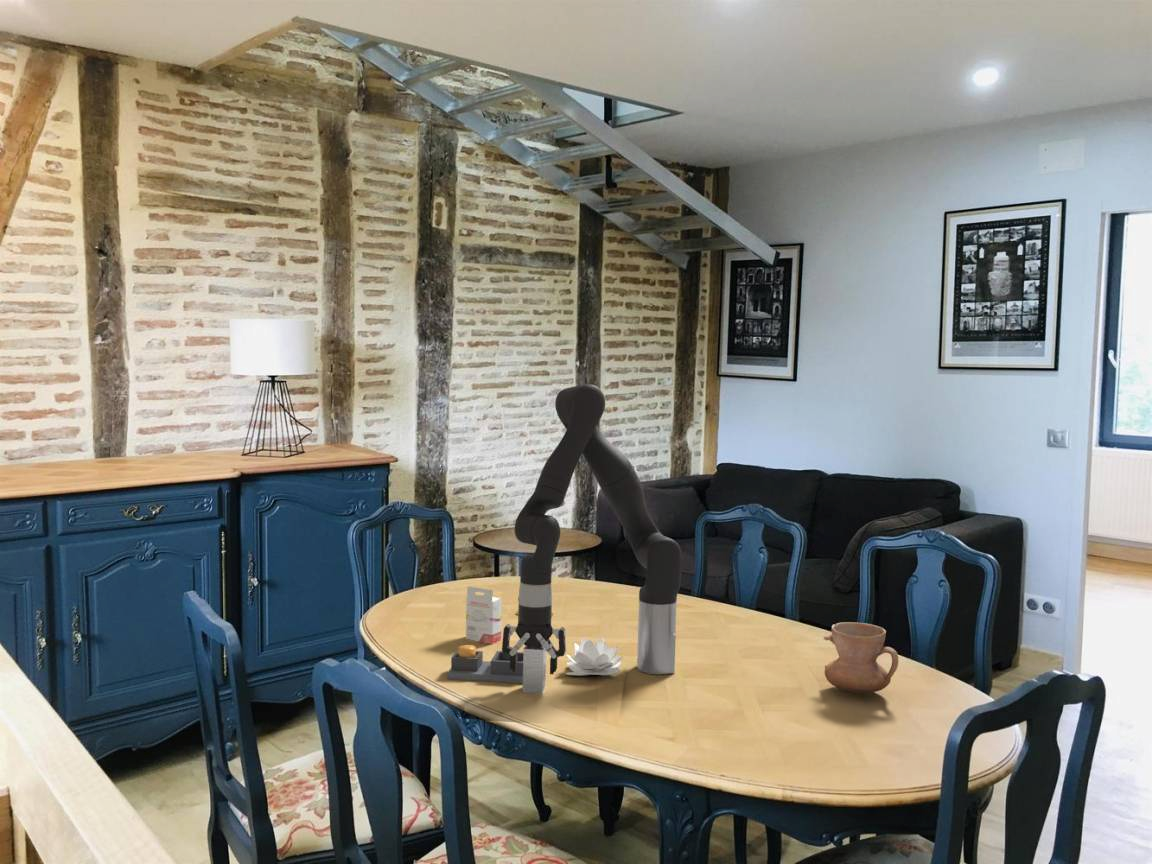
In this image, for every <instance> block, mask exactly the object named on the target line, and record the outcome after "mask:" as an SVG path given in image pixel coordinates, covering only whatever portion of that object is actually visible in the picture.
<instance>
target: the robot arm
mask: <svg viewBox="0 0 1152 864" xmlns="http://www.w3.org/2000/svg"><path fill="white" fill-rule="evenodd" d="M554 405H555V406H554V407H555V411H556V414H557V417H558V418H559V420H560V422H561V423H562V425H563V426H564V428H565V432H564V435H563V436H562V438H561V440H560V441H559V443H558V444H557V445H556V447H555V449H554V450H553V451H552V453H551V454H550V456H549V457H548V458H547V460H546V462H545V463H544V465H543V468H542V470H541V472H540V474H539V478H538V480H537V483H536V486H535V489H534V492H533V493H532V495H531V496H530V497H529V498H528V499H527V501H526V503H525V505H524V506H523V507H522V509H521V510H520V512H519V513H518V515H517V517H516V520H515V523H514V529H513V530H514V535H515V538H516V539H517V540H518V541H519V542H521V543H523V544H527V545H532V546H536V548H535V550H534V554H532V553H531V554H528V555H527V554H526V555H524V556H523V557H522V558H521V561H520V573H519V574H520V576H519V577H520V579H519V589H518V597H517V602H518V609H517V610H518V611H517V612H518V615H517V625H516V626H513V625H511V624H506V625H505V626H504V628H503V631H502V646H501V651H502V652H503V653H508V654H509V655H510V669H513V670H512V671H513V672H516V671H517V654H516V652H519V650H520V649H521V648H522V647H523V645H524V646H525V645H526V647H531V646H534V647H541V646H543V647H544V648H545V650H546V653H548V655H549V656H550V658H549V659H550V661H549V675H554V674H555V672H556V671H557V669H558V658H560V657H563V656H564V655H565V654H566V652H567V651H566V649H567V647H566V646H567V645H566V629H565V628H564V627H560V628H554V627H553V626H552V618H551V614H552V613H553V611H552V608H553V605H552V603H553V588H552V570H553V569H552V565H553V561H554V559H555V555H556V552H557V549H558V545H559V542H560V538H561V527H560V524H559V523H560V522H558V520H557V518H556V517H554V516H552V515H548V514H546V513H548V511H550V510H553V509H554V510H555V509H559V508H561V507H562V505H563V503H564V502H565V498H566V496H567V494H568V493H567V492H568V489H569V486H570V483H571V481H572V478H573V476H574V473H575V470H576V468H577V466H578V463H579V462H580V459H581V456H583V458H584V459H585V461H586V463H587V465H588V467H589V469H590V470H591V471H592V474H593V476H594V478H595V480H596V481H597V484H598V486H599V489H601V491H602V493H603V495H604V497H605V498H606V501H607V502H608V503H609V506H610V508H611V509H612V511H613V512H614V514H615V515H616V517H617V519H618V520H619V522H620V523H621V525H622V528H623V529H624V531H625V533H626V535H627V538H628V541H629V543H630V545H631V548H632V551H633V552H634V553H633V554H634V555H635V558H636V560H637V562H638V564H639V565H641V567H643V568H644V569H646V574H645V575H646V576H645V583H644V585H642V586H641V587H640V589H639V592H638V621H637V622H638V624H637V653H636V654H637V658H636V663H637V664H636V667H637V670H638V671H640V672H642V673H645V674H649V675H668V674H675V671H676V670H675V669H676V668H675V665H676V639H677V638H676V635H677V632H676V631H677V599H678V594H679V591H680V588H681V582H682V581H681V580H682V570H683V569H682V567H683V563H682V562H683V557H682V556H683V555H682V549H681V547H680V544H679V543H678V542H677V541H675V540H674V539H672V538H670V537H668V536H665V535H663V534H662V533H661V531H660V530H659V528H658V527H657V526H656V524H655V522H654V521H653V519H652V517H651V515H650V513H649V511H648V509H647V508H648V507H647V503H646V499H645V492H644V488H643V484H642V482H641V480H640V478H639V476H638V474H637V472H636V470H635V469H634V467H633V465H632V463H631V462H630V460H629V459H628V457H627V456H626V455H625V454H624V453H623V452H622V451H621V450H619V449H618V448H617V447H616V446H615V445H614V444H613V443H612V442H611V441H610V440H609V439H608V438H606V436H605V435H604V434H603V432H602V431H601V430H600V428H599V426H598V424H599V423H600V420H601V419H602V416H603V414H604V413H605V408H606V399H605V395H604V393H603V390H601V389H600V388H599V386H597V385H595V384H590V383H589V384H587V383H585V384H579V385H575V386H570V387H566V388H564V389H562V390H560V391H559V392H558V393H557V395H556V397H555V402H554ZM514 633H516V635H517V636H518V638H519V640H518V641H517V642H516V643H515V644H514V646H513V647H512V646H510V640H511V637H512V636H513V634H514ZM553 635H554V636H555V638H556V639H557V640H558V649H556V648H555V646H554V644H553V642H552V641H551V639H550V638H551V637H552V636H553Z"/></svg>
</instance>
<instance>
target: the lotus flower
mask: <svg viewBox="0 0 1152 864" xmlns="http://www.w3.org/2000/svg"><path fill="white" fill-rule="evenodd" d="M573 648H574V656H573V655H570V654H566V655H565V656H566V658H567V659H568V660H569V662H566V663H567V667H568V668H569V670H570V671H571V672H566V673H565V675H567V676H589V675H598V676H608V675H609V676H610V675H613V674H616V673H619V672H620V671H621V669H620V668H619V667H621V665H622V661H621V660H622V659H623V656H616V655H617V652H618V649H619V646H613V647H611V648H610V647H609V645H608V644H607V642H605V640H604V637H603V636H601V637H600V638H599V640H598V642H597V643H596V644H595V642H594V641H593V640H591V639H587V638H586V637H582V638H581V640H580V641H579V644H578V643H576V642H574V643H573Z"/></svg>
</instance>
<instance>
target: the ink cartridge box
mask: <svg viewBox="0 0 1152 864" xmlns="http://www.w3.org/2000/svg"><path fill="white" fill-rule="evenodd" d="M479 592H480V593H482V594H476V593H479ZM502 601H503V599H502V597H495V596H493V589H489V588H482V587H474V586H467V591H466V599H465V603H466V607H465V608H466V609H465V611H466V612H465V613H466V614H465V640H468V639H470V640H469V641H473V640H474V641H473V642H478V641H480V642H479V643H482V642H485V643H484V644H487V643H489V644H488V645H494V644H496V643H498V642H501V641H502V621H503V620H502V612H503V611H502V608H503V606H502V604H503V603H502ZM497 641H498V642H497ZM493 643H494V644H493Z"/></svg>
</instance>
